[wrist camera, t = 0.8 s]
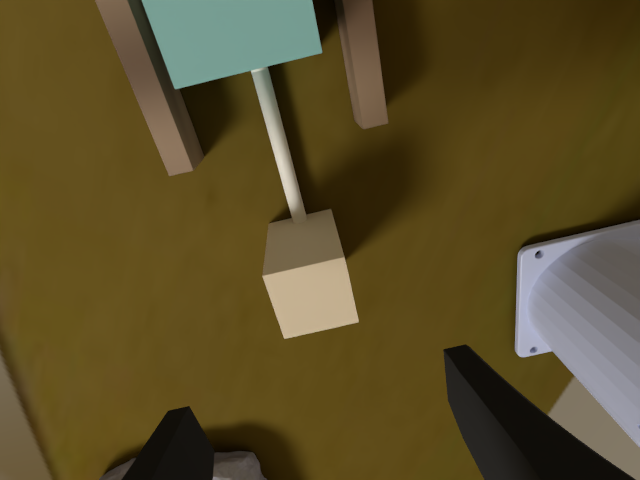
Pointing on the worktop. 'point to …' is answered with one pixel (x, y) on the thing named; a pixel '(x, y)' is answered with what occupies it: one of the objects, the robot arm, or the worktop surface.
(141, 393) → the worktop surface
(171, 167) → the u-shaped wooden frame
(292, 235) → the multicoloured linked piece
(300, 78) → the worktop surface
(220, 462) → the stone block
